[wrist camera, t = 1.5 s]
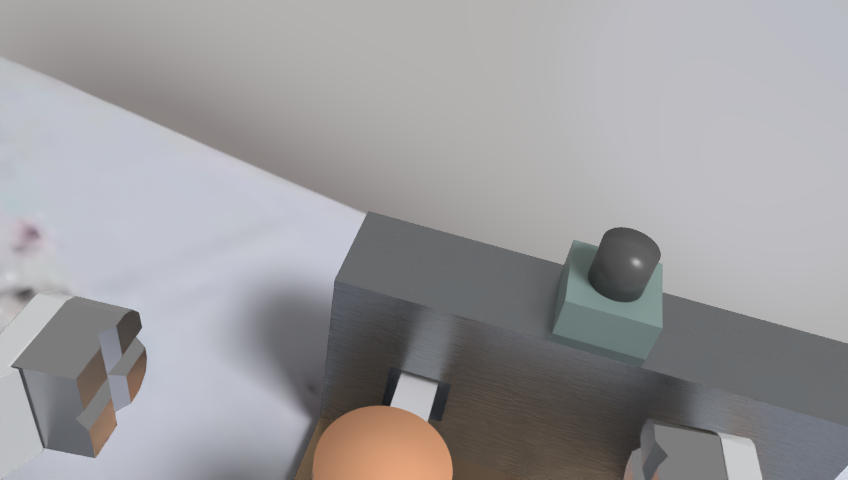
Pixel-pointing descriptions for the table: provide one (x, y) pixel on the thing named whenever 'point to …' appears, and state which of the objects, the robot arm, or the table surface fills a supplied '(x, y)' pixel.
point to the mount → (564, 366)
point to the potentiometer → (612, 293)
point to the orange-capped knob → (386, 439)
